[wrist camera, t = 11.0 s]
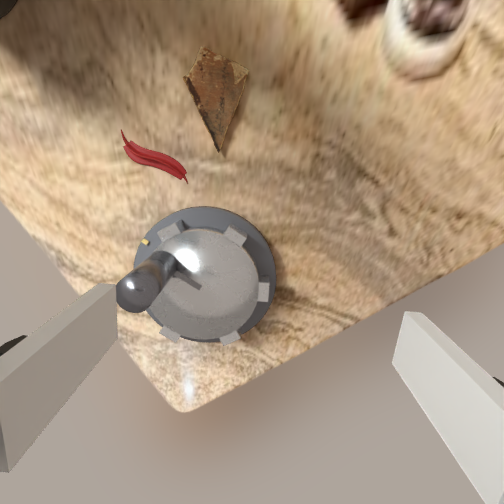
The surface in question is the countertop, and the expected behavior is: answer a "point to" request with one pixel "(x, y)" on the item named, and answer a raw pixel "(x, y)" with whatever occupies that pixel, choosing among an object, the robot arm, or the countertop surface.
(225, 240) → the tabbed dome lid
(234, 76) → the shard
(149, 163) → the cayenne pepper
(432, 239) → the countertop surface
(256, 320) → the base plate
